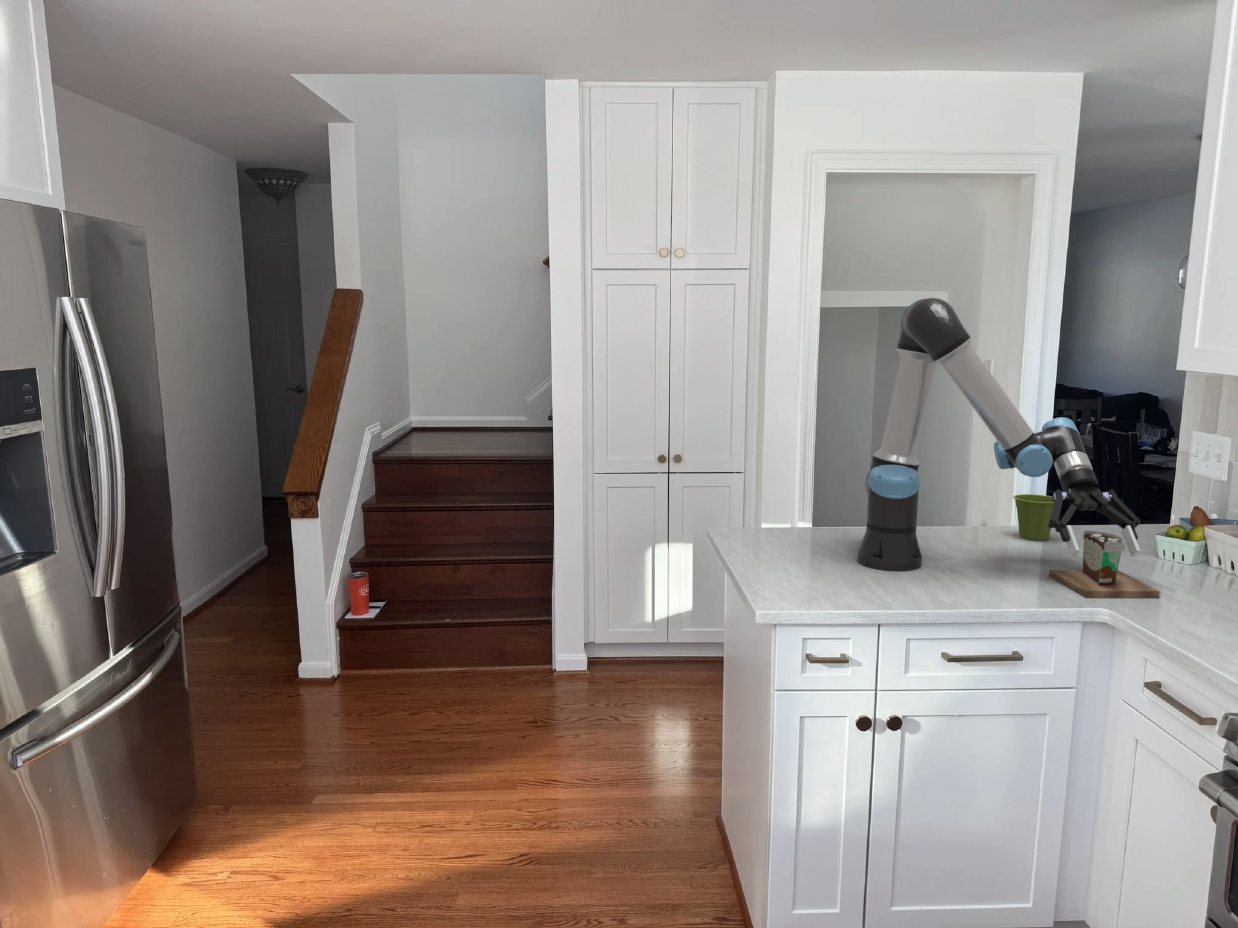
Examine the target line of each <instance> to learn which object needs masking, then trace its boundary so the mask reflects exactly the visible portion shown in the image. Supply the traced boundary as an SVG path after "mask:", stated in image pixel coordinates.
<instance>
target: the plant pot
mask: <svg viewBox="0 0 1238 928" xmlns="http://www.w3.org/2000/svg"><path fill="white" fill-rule="evenodd" d="M1012 497H1013V499H1014V500H1015V501H1014V502H1015V507H1016V513H1017V521H1018V533H1019V537H1021V539H1022V538H1023V539H1025V540H1028V541H1036V540H1039V541H1046V540H1049V538H1050V533H1051V530H1052V528H1049V527H1048V523H1049V519H1050V515H1051V511H1052V507H1053V498H1052V496H1050V495H1045V494H1044V495H1042V494H1032V493H1031V494H1030V493H1025V494H1023V493H1022V494H1015V495H1013V496H1012Z"/></svg>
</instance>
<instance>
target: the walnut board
mask: <svg viewBox="0 0 1238 928" xmlns="http://www.w3.org/2000/svg"><path fill="white" fill-rule="evenodd" d="M1048 577H1049V578H1051V579H1053V580H1055V581H1056V582H1059V583H1060V584H1062V585H1063V586H1065V587H1066V588H1068V589H1070V590H1072V591H1074V592H1075V593H1077V594H1078V595H1080V596H1082V597H1084V599H1085V598H1087V599H1088V598H1089V599H1092V598H1093V599H1097V598H1098V599H1099V598H1100V599H1101V598H1102V599H1103V598H1104V599H1108V598H1109V599H1114V598H1115V599H1117V598H1118V599H1127V598H1128V599H1133V598H1134V599H1137V598H1138V599H1159V598H1160V595H1161V591H1160V590H1158V589H1156V588H1154V587H1153V586H1151V585H1148V584H1146V583H1144V582H1142V581H1140V580H1138V579H1136V578H1134V577H1132V576H1130V575H1128V574H1126V573H1124V572H1122V571H1120V570H1118V571H1117V577H1116V582H1115V584H1113V585H1107V586H1098V585H1097V584H1096V583H1094V582H1093V581H1092V580H1090V579H1089V578H1088V577H1086V576H1085V575H1084V574H1082V569H1048Z"/></svg>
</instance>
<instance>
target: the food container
mask: <svg viewBox="0 0 1238 928" xmlns="http://www.w3.org/2000/svg"><path fill="white" fill-rule="evenodd" d="M1082 539H1083V552H1082V569H1081V570H1082V574H1084V575H1085V576H1086V577H1088V578H1089V579H1090V580H1092V581H1093V582H1094V583H1096V584H1097V585H1098V586H1107V585H1113V584H1115V582H1116V577H1117V571H1119V565H1120V560H1121V556H1122V552H1123V551H1125V550H1126V543H1125V540H1124V537H1122V536H1119V535H1116V534H1113V533H1109V532H1103V531H1097V530H1084V532H1083V536H1082Z"/></svg>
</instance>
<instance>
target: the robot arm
mask: <svg viewBox="0 0 1238 928" xmlns="http://www.w3.org/2000/svg"><path fill="white" fill-rule="evenodd" d="M971 341H972V337H971V336H970V334H969V333H968V331H967V330H966V329H965V327H964V325H963V323H962V322H961V319H960V318H959V316H958V315H957V313H956V311H955V309H954V308H953V306H952V305H951V304H950V303H948V302H947V301H945V300H943V299H941V298H939V297H938V298H937V297H926V298H922V299H919V300H916V301H914V302H912V303H911V304H910V305H908V307H907V308H906V309H905V311H904V313H903V314H902V317H901V320H900V333H899V337H898V342H897V346H896V351H898V352H897V353H899V355H900V361H899V367H898V371H897V375H896V379H895V383H894V388H893V393H892V398H891V401H890V402H891V403H890V406H889V410H888V413H887V414H888V416H887V419H886V425H885V429H884V433H883V436H882V437H883V438H882V442H881V447H880V448H879V449H878V450H877V451H875V452H874V453H873V454H872V457H871V458H872V459H871V461H870V468H869V471H868V473H867V474H866V478H865V484H864V487H865V492H866V495H867V513H866V530H865V532H864V534H863V538H862V539H861V542H860V545H859V547H858V550H857V562H858V563H859V564H862V565H863V566H866V567H869V568H874V569H878V570H884V571H886V570H887V571H898V572H899V571H900V572H901V571H902V572H903V571H913V570H916V569H919V568H921V567H922V561H923V555H922V552H921V547H920V544H919V540H918V537H917V521H918V504H919V493H920V492H919V491H920V487H921V482H920V475H919V473H918V472H919V468H920V461H919V460H918V458H917V457H916V453H917V448H918V444H919V441H920V436H921V431H922V427H923V423H924V418H925V414H926V410H927V405H928V402H929V401H928V400H929V396H930V393H931V388H932V383H933V379H934V376H935V371H936V367H937V364H940V365H941V366H942V367H943V368H944V369H945V371H946V372H947V374H948V375H949V376H950V378H951V379H952V381H953V382H954V383H955V384H956V386H957V388H958V389H959V390H960V391H961V393H962V394H963V396H964V397H965V398H966V400H967V401H968V403H969V404H970V405H971V407H972V408H973V409H974V411H975V412H976V414H977V415H978V416H979V418H980V419H981V421H982V422H983V423H984V425H985V426H986V428H987V429H988V430H989V431H990V433H991V434H992V436H993V437H994V438H995V441H994V443H993V453H994V457H995V460H996V464H997V466H998V468H999V469H1001V470H1009V469H1011V470H1013V469H1015V468H1016V469H1017V470H1018V472H1019V473H1020V474H1022V475H1023V476H1027V477H1029V478H1039V477H1042V476H1046V474H1047V473H1048V472H1050V470H1051V468H1052V466H1054V468H1055V471H1056V474H1057V476H1058V477H1057V478H1058V479H1059V483H1060V485H1061V488H1059V489H1058V488H1057V489H1056V490H1055V491H1054V493H1053V495H1052V496H1051V497H1052V498H1053V507H1052V511H1051V515H1050V519H1049V523H1048V527H1049V528H1051V529H1054V531H1055V532H1056V533H1059V535H1060V538H1061V541H1062V542H1065V543H1066V546H1067V549H1068V552H1069V556H1070V557H1075V556H1077V554H1078V553H1079V552H1080V548H1079V545H1078V542H1077V539H1076V536H1075V534H1074V530H1073V528H1072V525H1070V524H1069V525H1067V524H1068V523H1069V521H1070V520H1071V518H1072V516H1073V515H1074V513H1075V511H1076V510H1079V511H1081V512H1082V511H1084V512H1085V511H1095V512H1097V513H1098V514H1102V515H1103V516H1105V518H1107V519H1108V520H1110V521H1111V522H1113V523H1114V524H1116V525H1117V526H1118V527H1120V528H1121V529H1122V530H1121V531H1120V532H1121V535H1122V538H1123V541H1124V544H1125V546H1126V547H1127V549H1128V552H1129V555H1130V557H1132V558H1133V557H1134V558H1135V556H1137V554H1138V553H1140V552H1141V549H1140V546H1139V544H1138V541H1137V540H1139V536H1138V533H1137V531H1136V529H1137V527H1138V526H1139V525H1140V524H1141V523H1142V521H1141V519H1140V518H1139V517H1137V515H1135V513H1134V512H1133V511H1132V510H1131V509H1130V508H1129V507H1128V506H1127V505H1126V504H1125V503H1124V502H1123V501H1122V500H1121V499H1120V498H1119V497H1118V495H1117V493H1116V491H1115V490H1114V489H1109V490H1108V491H1106V492H1102V491H1101V490H1100V487H1099V482H1098V479H1097V477H1096V474H1095V471H1094V470H1093V466H1092V464H1091V461H1090V459H1089V456H1088V454H1087V451H1086V450H1085V446H1084V444H1083V441H1082V438H1081V433H1080V432H1079V430H1078V428H1077V426H1076V424H1075V423H1074V421H1073V420H1072V419H1070V418H1068V417H1063V416H1062V417H1056V418H1053V419H1051V420H1048V421H1046V422H1045V423H1043V425H1042V427H1041V430H1040V431H1039V432H1038V431H1037V432H1034V431H1033V430H1032V428H1031V427H1030V425H1029V424H1028V423H1027V421H1026V420H1025V418H1024V417H1023V416H1022V415H1021V413H1020V411H1019V410H1018V409H1017V407H1016V406H1015V405H1014V403H1013V402H1012V401H1011V399H1010V397H1009V396H1008V395H1007V394H1006V392H1005V391H1004V389H1003V388H1002V386H1001V385H1000V384H999V383H998V381H997V380H996V378H995V377H994V376H993V374H992V373H991V371H990V370H989V369H988V367H987V366H986V364H985V362H984V361H983V360H982V359H981V358H980V356H979V355H978V353H977V352H976V350H975V349H974V348H973V346H972V345H971ZM1061 489H1062V490H1061ZM1064 500H1065V501H1067V502H1068V503H1070V506H1069V507H1068V508H1067V510H1066V512H1065V514H1064V515H1063V517H1062V518H1061V519H1060V514H1061V509H1062V505H1063V502H1064ZM1100 505H1101V506H1100ZM1059 519H1060V520H1059Z"/></svg>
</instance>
